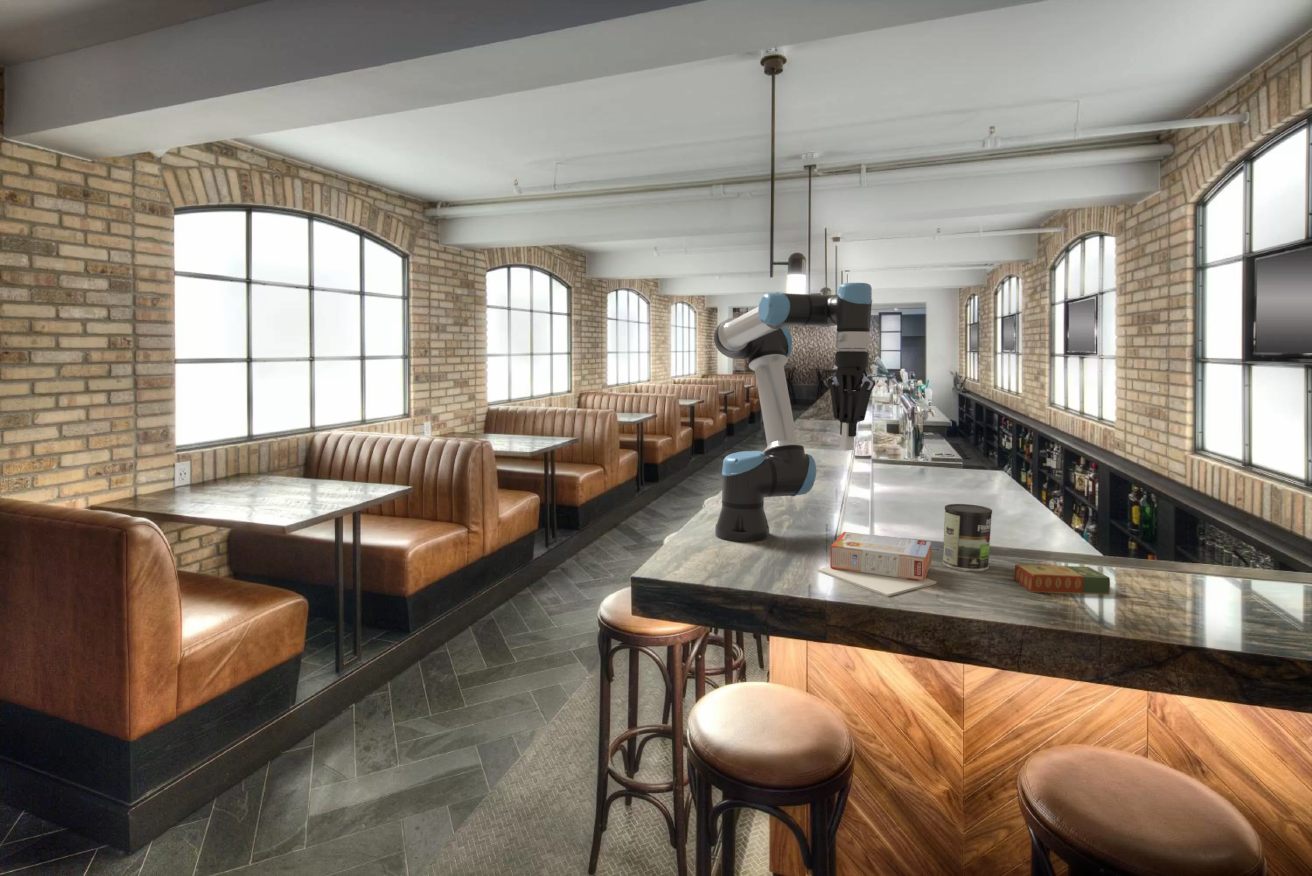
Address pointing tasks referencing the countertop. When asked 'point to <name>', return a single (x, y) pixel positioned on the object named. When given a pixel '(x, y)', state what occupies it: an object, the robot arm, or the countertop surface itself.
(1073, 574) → the carton
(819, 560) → the countertop surface
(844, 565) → the cracker box
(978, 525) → the coffee can
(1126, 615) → the countertop surface
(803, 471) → the robot arm
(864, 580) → the mat
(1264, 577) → the countertop surface
